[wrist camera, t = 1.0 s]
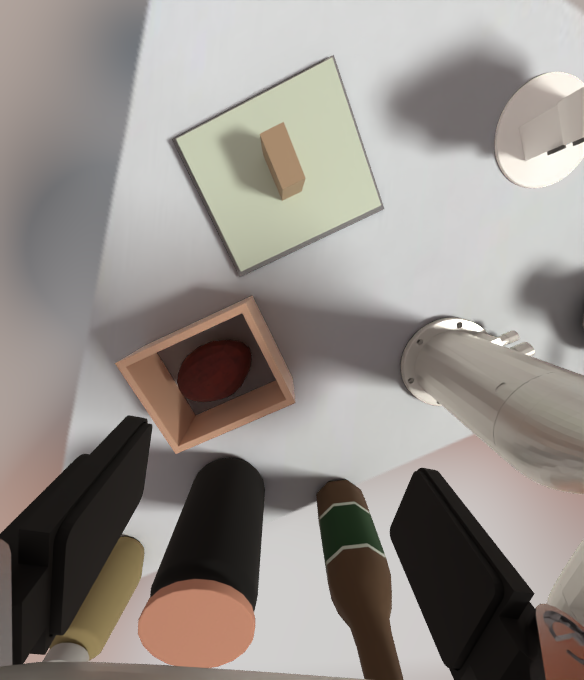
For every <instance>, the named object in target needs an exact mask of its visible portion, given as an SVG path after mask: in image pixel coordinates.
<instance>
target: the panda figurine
mask: <svg viewBox="0 0 584 680" xmlns="http://www.w3.org/2000/svg"><path fill="white" fill-rule="evenodd" d="M495 154H496V159H497V162H498V165H499V167H500V169H501V171H502V172H503V174H504V175H505V176H506V177H507V178H508V179H509V180H510V181H511V182H513V183H514V184H516V185H518V186H521V187H524V188H541V187H546V186H549V185H552V184H554V183H556V182H558V181H560V180H562V179H563V178H565V177H566V176H567V175H568V174H570V173H571V172H572V171H573V170H574V169H575V168H576V167H577V165H578V164H579V163H580V162H581V160H582V159H583V157H584V83H583V82H582V81H581V80H580V79H578V78H577V77H575V76H573V75H571V74H568V73H563V72H551V73H546V74H543V75H540V76H538V77H536V78H534V79H532V80H531V81H529V82H528V83H526V84H525V85H524V86H522V87H521V88H520V89H519V90H518V91H517V92H516V93H515V94H514V95H513V96H512V97H511V99H510V100H509V101H508V103H507V104H506V106H505V108H504V110H503V112H502V114H501V116H500V118H499V121H498V124H497V128H496V133H495Z"/></svg>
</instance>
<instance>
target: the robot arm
mask: <svg viewBox="0 0 584 680" xmlns="http://www.w3.org/2000/svg"><path fill="white" fill-rule="evenodd" d="M417 340H418V341H417ZM517 340H519V334H518V333H517V332H516V331H510V332H507V333H505V334H503V335H502V336H499V337H495V336H494V337H493V336H491V335H488V333H487V332H486V331H485V330H484V329H483V328H482V327H481V326H479V325H478V324H476V323H474V322H472V321H469V320H466V319H461V318H444V319H440V320H436V321H434V322H432V323H429V324H427V325H426V326H424V327H423V328H421V329H420V330H419V331H418V332H417V333H416V334H415V335H414V336H413V337H412V338H411V340H410V341H409V342H408V344H407V346H406V348H405V350H404V352H403V355H402V359H401V375H402V379H403V382H404V384H405V385H406V387H407V389H408V390H409V391H410V392H411V393H412V394H413V395H414V396H415V397H416V398H417V399H419V400H420V401H422V402H424V403H427V404H430V405H434V406H443V407H444V408H446V409H447V410H448V411H449V412H450V413H451V414H452V415H454V416H455V417H456V418H457V419H458V420H459V421H460V422H462V423H463V424H464V425H465V426H466V427H467V428H468V429H470V430H471V431H472V432H473V433H474V434H475V435H476V436H478V437H479V438H480V439H481V440H482V441H483V442H485V443H486V444H487V445H488V446H489V447H490V448H491V449H492V450H494V451H495V452H496V453H497V454H498V455H499V456H500V457H502V458H503V459H504V460H505V461H506V462H508V463H509V464H510V465H511V466H512V467H513V468H515V469H516V470H517V471H518V472H520V473H521V474H522V475H524V476H525V477H527V478H529V479H530V480H532V481H534V482H536V483H539V484H540V485H543V486H545V487H548V488H551V489H555V490H559V491H563V492H569V493H576V494H584V375H581V374H578V373H575V372H572V371H569V370H567V369H564V368H561V367H559V366H556V365H553V364H550V363H548V362H545V361H542V360H539V359H537V358H534V357H531V356H532V355H534V354H535V351H534V348H533V347H532V346H531V345H530V344H529V343H527V342H523V343H520V344H518V345H515V346H513V347H511V348H507V347H504V345H506V344H510V343H513V342H515V341H517ZM409 378H410V379H409ZM147 422H148V421H147V419H146V418H141V417H135V416H127V417H126V418H125V419H124V420H123V421H122V422H121V423H120V424H119V425H118V426H117V427H116V428H115V429H114V430H113V431H112V432H111V433H110V434H109V435H108V436H107V437H106V438H105V439H104V440H103V441H102V443H101V444H100V445H99V446H98V447H97V448H96V449H95V450H94V451H93V452H92V453H91V454H90V455H89V454H82V455H80V456H79V457H78V458H76V459H75V460H74V461H73V462H72V463H71V464H70V465H69V466H68V467H67V468H66V469H65V470H64V471H63V472H62V473H61V474H60V475H59V476H58V477H57V478H56V479H55V480H54V481H53V482H52V483H51V484H50V485H49V486H48V487H47V488H46V489H45V490H44V491H43V492H42V493H41V494H40V495H39V496H38V497H37V498H36V499H35V500H34V501H33V502H32V503H31V504H30V505H29V506H28V507H27V508H26V509H25V510H24V511H23V512H22V513H21V514H20V515H19V516H18V517H17V518H16V519H15V520H14V521H13V522H12V523H11V524H10V525H9V526H8V527H7V528H6V529H5V530H4V531H3V532H2V533H1V534H0V680H367V679H353V678H340V677H326V676H313V675H300V674H286V673H271V672H257V671H243V670H228V669H213V668H199V667H184V666H169V665H150V664H128V663H126V664H125V663H106V662H36V663H27V664H23V663H24V662H25V660H26V659H27V657H28V655H29V654H42V655H44V654H46V652H47V650H48V648H49V647H50V645H51V643H52V642H53V640H54V638H55V636H56V635H60V636H63V635H64V634H65V633H66V631H67V630H68V628H69V627H70V625H71V623H72V621H73V620H74V618H75V616H76V614H77V613H78V611H79V609H80V607H81V605H82V604H83V602H84V600H85V598H86V597H87V595H88V593H89V591H90V589H91V588H92V586H93V584H94V582H95V581H96V579H97V577H98V575H99V573H100V572H101V570H102V568H103V566H104V565H105V563H106V561H107V559H108V557H109V556H110V554H111V552H112V550H113V549H114V547H115V545H116V543H117V541H118V540H119V538H120V536H121V534H122V533H123V531H124V529H125V527H126V525H127V524H128V522H129V520H130V518H131V516H132V515H133V513H134V511H135V509H136V508H137V506H138V504H139V502H140V500H141V497H142V494H143V490H144V483H145V476H146V469H147V462H148V455H149V447H150V440H151V433H152V424H147ZM390 537H391V540H392V543H393V545H394V547H395V550H396V552H397V555H398V557H399V559H400V562H401V564H402V566H403V569H404V571H405V574H406V576H407V578H408V581H409V583H410V585H411V588H412V590H413V592H414V595H415V597H416V599H417V602H418V604H419V607H420V609H421V611H422V614H423V616H424V619H425V621H426V623H427V626H428V628H429V630H430V633H431V635H432V638H433V640H434V642H435V645H436V647H437V649H438V652H439V654H440V656H441V659H442V661H443V662H444V664H445V665H446V666H447V667H448V668H449V669H450V671H451V674H452V676H453V678H454V680H584V539H583V540H582V542H581V543H580V545H579V547H578V548H577V550H576V551H575V552H574V554H573V555H572V557H571V558H570V560H569V562H568V563H567V565H566V566H565V568H564V569H563V571H562V573H561V574H560V576H559V578H558V579H557V581H556V583H555V584H554V586H553V588H552V590H551V592H550V594H549V597H548V601H547V604H540V605H538V606H537V607H536V608H534V607H533V606H532V604H531V603H530V602H529V601H530V600H531V598H532V597H533V595H534V593H533V591H532V590H531V589H530V588H529V586H528V585H527V583H526V582H525V581H524V580H523V579H522V577H521V576H520V575H519V573H518V572H517V571H516V569H515V568H514V567H513V566H512V564H511V563H510V562H509V561H508V559H507V558H506V557H505V556H504V554H503V553H502V552H501V551H500V549H499V548H498V547H497V545H496V544H495V543H494V542H493V540H492V539H491V538H490V537H489V535H488V534H487V533H486V531H485V530H484V529H483V528H482V526H481V525H480V524H479V522H478V521H477V520H476V519H475V517H474V516H473V515H472V514H471V512H470V511H469V510H468V508H467V507H466V506H465V505H464V504H463V502H462V501H461V500H460V498H459V497H458V496H457V495H456V493H455V492H454V491H453V489H452V488H451V487H450V486H449V484H448V483H447V482H446V480H445V479H444V478H443V477H442V476H441V474H440V473H439V472H438V471H436V470H431V469H426V468H420V469H418V471H415V472H414V473H413V475H412V477H411V480H410V482H409V485H408V487H407V489H406V492H405V494H404V496H403V499H402V501H401V504H400V506H399V508H398V511H397V513H396V515H395V518H394V520H393V522H392V525H391V527H390Z"/></svg>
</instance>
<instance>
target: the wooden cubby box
mask: <svg viewBox="0 0 584 680" xmlns="http://www.w3.org/2000/svg"><path fill="white" fill-rule="evenodd" d="M241 313H242V314H243V315H244V317H245V319H246V321H247V323H248V325H249V327H250V329H251V331H252V333H253V335H254V337H255V339H256V341H257V343H258V345H259V347H260V349H261V351H262V353H263V355H264V357H265V359H266V361H267V363H268V365H269V367H270V369H271V371H272V373H273V375H274V377H275V379H276V380H275V381H273V382H271V383H268V384H266V385H264V386H262V387H259V388H257V389H255V390H252V391H250V392H248V393H246V394H243V395H241V396H239V397H236V398H234V399H232V400H229V401H227V402H225V403H223V404H220V405H218V406H216V407H213V408H211V409H209V410H207V411H204V412H202V413H200V414H197V415H195V414H194V412H193V410H192V409H191V407H190V405H189V404H188V402H187V401H186V399H185V397H184V396H183V395H182V393H181V392H180V390H179V388H178V386H177V384H176V383H175V381H174V380H173V378H172V376H171V375H170V373H169V371H168V370H167V368H166V367H165V365H164V363H163V362H162V360H161V359H160V357H159V355H158V354H157V352H159V351H161V350H163V349H165V348H168V347H170V346H172V345H174V344H176V343H178V342H181V341H183V340H185V339H187V338H189V337H191V336H194V335H196V334H198V333H200V332H202V331H205V330H207V329H209V328H211V327H213V326H215V325H218V324H220V323H222V322H224V321H226V320H228V319H231V318H233V317H235V316H237V315H239V314H241ZM115 364H116V366H117V367H118V369H119V370H120V372H121V373H122V375H123V376H124V378H125V379H126V381H127V382H128V384H129V385H130V387H131V388H132V390H133V391H134V393H135V394H136V396H137V397H138V399H139V400H140V401H141V403H142V404H143V406H144V407H145V409H146V410H147V412H148V413H149V415H150V416H151V418H152V419H153V421H154V422H155V424H156V425H157V427H158V428H159V430H160V431H161V433H162V434H163V436H164V437H165V439H166V440H167V442H168V443H169V445H170V446H171V448H172V449H173V451H174V452H175V454H177V453H179V452H182V451H184V450H186V449H189V448H191V447H194V446H196V445H198V444H201V443H203V442H205V441H208V440H210V439H212V438H215V437H217V436H219V435H222V434H224V433H226V432H229V431H231V430H233V429H236V428H238V427H240V426H243V425H245V424H247V423H250V422H252V421H254V420H257V419H259V418H261V417H264V416H266V415H268V414H271V413H273V412H275V411H278V410H280V409H282V408H285V407H287V406H289V405H292V404H294V403H296V402H295V393H294V384H293V378H292V376H291V374H290V372H289V370H288V368H287V366H286V364H285V361H284V359H283V357H282V355H281V353H280V351H279V349H278V347H277V345H276V343H275V341H274V339H273V337H272V335H271V333H270V331H269V329H268V327H267V325H266V323H265V321H264V319H263V316H262V314H261V312H260V310H259V308H258V306H257V304H256V302H255V300H254V298H253V296H250V297H248V298H246V299H244V300H242V301H240V302H237V303H235V304H233V305H231V306H229V307H227V308H224V309H222V310H220V311H218V312H216V313H214V314H212V315H209V316H207V317H205V318H203V319H201V320H199V321H196V322H194V323H192V324H190V325H188V326H186V327H184V328H181V329H179V330H177V331H175V332H173V333H171V334H169V335H166V336H164V337H162V338H160V339H158V340H156V341H153V342H151V343H149V344H147V345H145V346H143V347H142V348H140V349H138V350H137V351H135V352H133V353H132V354H130V355H128V356H127V357H125V358H123V359H122V360H120V361H118V362H117V363H115Z"/></svg>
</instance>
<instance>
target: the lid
mask: <svg viewBox="0 0 584 680" xmlns="http://www.w3.org/2000/svg"><path fill="white" fill-rule="evenodd" d="M176 140H177V142H178V144H179V146H180V148H181V150H182V153H183V155H184V157H185V159H186V161H187V163H188V165H189V167H190V169H191V171H192V173H193V175H194V177H195V179H196V181H197V183H198V185H199V187H200V189H201V191H202V193H203V196H204V198H205V200H206V202H207V204H208V206H209V208H210V210H211V212H212V214H213V216H214V218H215V220H216V222H217V224H218V226H219V228H220V230H221V232H222V234H223V236H224V239H225V241H226V243H227V245H228V247H229V249H230V251H231V253H232V255H233V257H234V259H235V261H236V263H237V265H238V267H239V269H240V271H244V270H246V269H248V268H250V267H252V266H254V265H256V264H258V263H261V262H263V261H265V260H267V259H269V258H271V257H273V256H275V255H277V254H280V253H282V252H284V251H286V250H288V249H290V248H292V247H294V246H296V245H299V244H301V243H303V242H305V241H307V240H309V239H311V238H313V237H315V236H318V235H320V234H322V233H324V232H326V231H328V230H330V229H332V228H335V227H337V226H339V225H341V224H343V223H345V222H347V221H349V220H351V219H354V218H356V217H358V216H360V215H362V214H364V213H366V212H368V211H370V210H373V209H375V208H377V207H379V206H381V203H380V200H379V197H378V194H377V191H376V188H375V185H374V182H373V179H372V176H371V173H370V170H369V167H368V163H367V160H366V157H365V154H364V151H363V148H362V145H361V142H360V139H359V136H358V133H357V130H356V127H355V124H354V121H353V118H352V115H351V112H350V109H349V106H348V103H347V100H346V97H345V94H344V91H343V88H342V85H341V82H340V79H339V76H338V73H337V70H336V67H335V64H334V61H333V58H330V59H328V60H326V61H324V62H322V63H320V64H318V65H316V66H315V67H313V68H311V69H309V70H307V71H305V72H303V73H301V74H299V75H297V76H295V77H293V78H292V79H290V80H288V81H286V82H284V83H282V84H280V85H278V86H276V87H274V88H272V89H270V90H269V91H267V92H265V93H263V94H261V95H259V96H257V97H255V98H253V99H251V100H249V101H247V102H246V103H244V104H242V105H240V106H238V107H236V108H234V109H232V110H230V111H228V112H226V113H224V114H223V115H221V116H219V117H217V118H215V119H213V120H211V121H209V122H207V123H205V124H203V125H201V126H200V127H198V128H196V129H194V130H192V131H190V132H188V133H186V134H184V135H182V136H180V137H178V138H176Z"/></svg>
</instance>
